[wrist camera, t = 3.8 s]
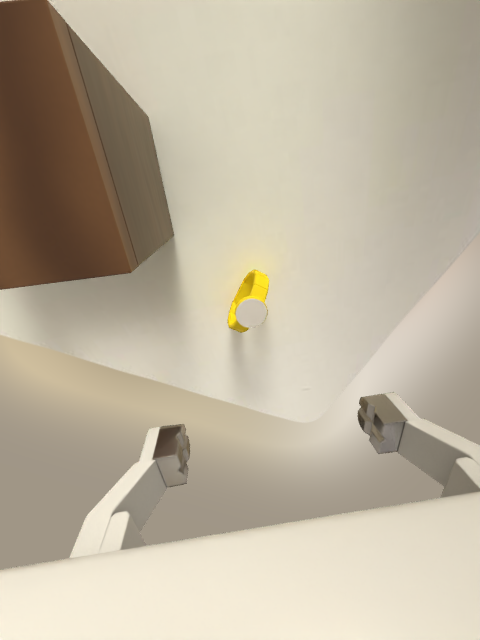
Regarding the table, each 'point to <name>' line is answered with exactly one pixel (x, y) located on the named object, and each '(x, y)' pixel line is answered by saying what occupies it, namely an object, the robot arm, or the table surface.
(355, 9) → the table surface
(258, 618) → the robot arm
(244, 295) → the watch
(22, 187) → the box
